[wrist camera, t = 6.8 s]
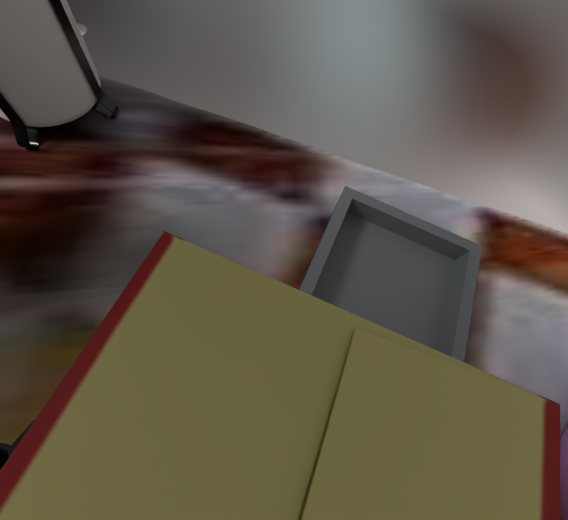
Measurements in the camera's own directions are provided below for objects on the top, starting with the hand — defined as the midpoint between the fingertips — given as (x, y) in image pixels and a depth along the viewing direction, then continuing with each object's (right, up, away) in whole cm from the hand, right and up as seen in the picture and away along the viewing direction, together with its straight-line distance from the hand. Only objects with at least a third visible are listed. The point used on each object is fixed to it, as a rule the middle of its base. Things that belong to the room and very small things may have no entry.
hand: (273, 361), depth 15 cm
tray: (+11, +2, +18) cm, 21 cm away
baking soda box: (-1, -5, +5) cm, 8 cm away
